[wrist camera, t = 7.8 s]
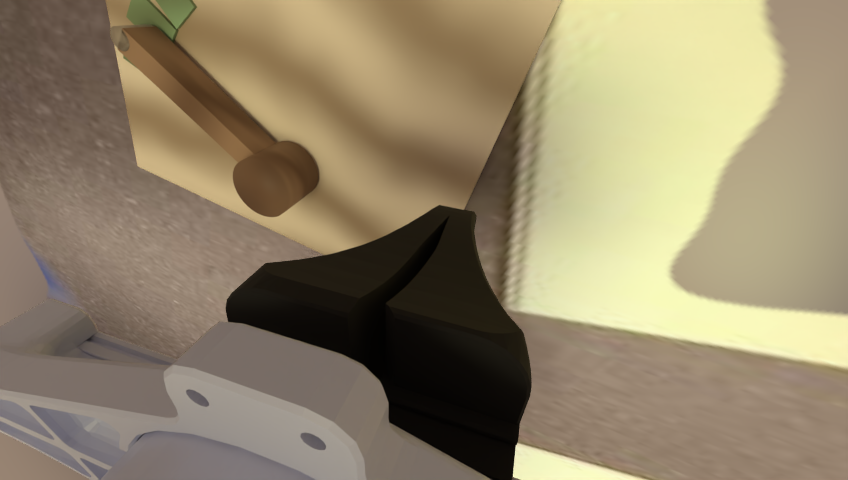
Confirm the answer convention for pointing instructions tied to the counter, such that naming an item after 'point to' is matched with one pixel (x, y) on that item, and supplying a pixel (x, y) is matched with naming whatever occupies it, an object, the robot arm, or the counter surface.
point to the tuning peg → (222, 123)
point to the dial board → (341, 100)
